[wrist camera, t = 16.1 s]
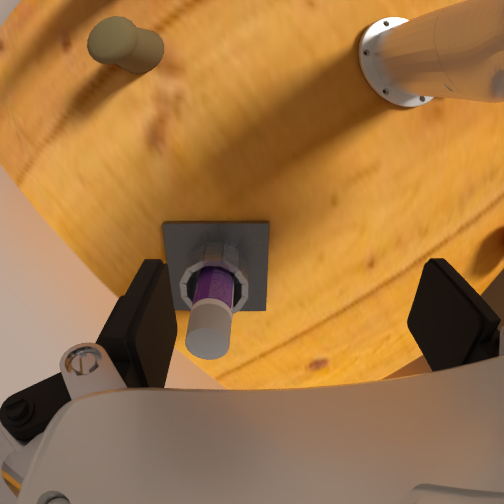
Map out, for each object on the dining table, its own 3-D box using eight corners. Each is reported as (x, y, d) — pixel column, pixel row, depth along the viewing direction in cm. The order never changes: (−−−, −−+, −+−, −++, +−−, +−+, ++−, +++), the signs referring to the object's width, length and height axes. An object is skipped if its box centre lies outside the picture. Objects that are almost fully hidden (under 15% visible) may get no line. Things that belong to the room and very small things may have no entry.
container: (195, 261, 43) (175, 334, 30) (226, 249, 43) (217, 321, 29) (210, 288, 45) (197, 364, 32) (240, 277, 45) (238, 354, 31)
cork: (150, 80, 33) (116, 74, 23) (111, 65, 32) (68, 58, 22) (172, 38, 31) (146, 17, 21) (132, 24, 29) (95, 4, 20)
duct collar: (268, 220, 42) (271, 239, 36) (265, 306, 48) (267, 332, 43) (164, 221, 42) (152, 240, 36) (175, 306, 48) (167, 331, 43)
